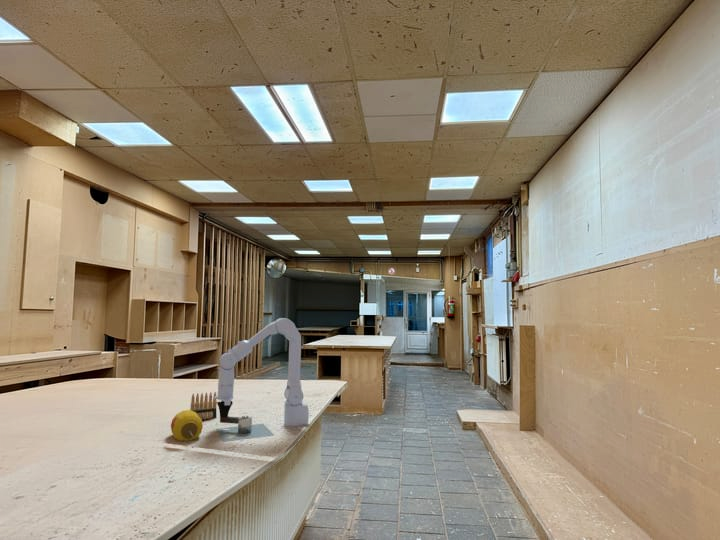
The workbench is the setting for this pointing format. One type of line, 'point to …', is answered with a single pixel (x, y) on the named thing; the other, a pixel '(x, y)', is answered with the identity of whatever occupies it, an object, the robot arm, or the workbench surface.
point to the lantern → (186, 425)
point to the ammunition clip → (207, 409)
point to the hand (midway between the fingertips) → (223, 421)
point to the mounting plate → (233, 433)
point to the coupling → (239, 422)
